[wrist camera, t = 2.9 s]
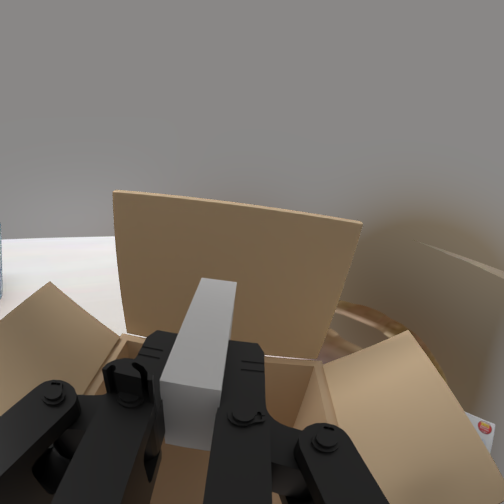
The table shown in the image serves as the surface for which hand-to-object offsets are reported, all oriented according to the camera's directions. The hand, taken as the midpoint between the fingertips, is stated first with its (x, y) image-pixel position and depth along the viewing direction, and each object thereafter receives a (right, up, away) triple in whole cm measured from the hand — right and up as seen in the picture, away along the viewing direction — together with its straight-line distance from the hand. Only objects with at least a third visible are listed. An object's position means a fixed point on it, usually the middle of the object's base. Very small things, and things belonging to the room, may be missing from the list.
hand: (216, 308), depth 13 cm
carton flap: (-1, -1, +15) cm, 15 cm away
